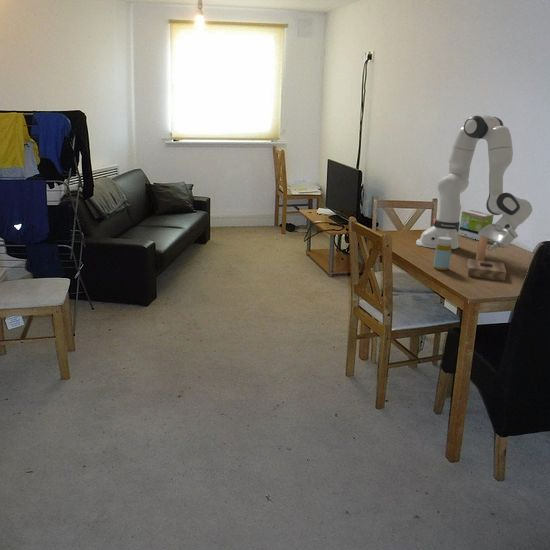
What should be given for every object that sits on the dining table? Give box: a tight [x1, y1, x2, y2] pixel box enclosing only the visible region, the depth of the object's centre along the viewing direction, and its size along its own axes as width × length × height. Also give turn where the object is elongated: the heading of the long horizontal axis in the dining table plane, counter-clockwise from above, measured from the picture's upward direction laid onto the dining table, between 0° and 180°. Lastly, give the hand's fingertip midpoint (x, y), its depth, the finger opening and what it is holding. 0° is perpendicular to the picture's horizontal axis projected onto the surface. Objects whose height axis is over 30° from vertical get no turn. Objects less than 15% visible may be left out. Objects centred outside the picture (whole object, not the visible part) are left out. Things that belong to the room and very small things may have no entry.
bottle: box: [432, 236, 452, 271], centre depth 263 cm, size 7×7×15 cm
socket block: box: [466, 258, 507, 281], centre depth 261 cm, size 16×16×4 cm
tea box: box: [458, 209, 495, 241], centre depth 326 cm, size 15×10×15 cm
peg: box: [475, 237, 489, 261], centre depth 274 cm, size 4×4×13 cm
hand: (483, 247), depth 274 cm, fingers open, 8 cm apart
